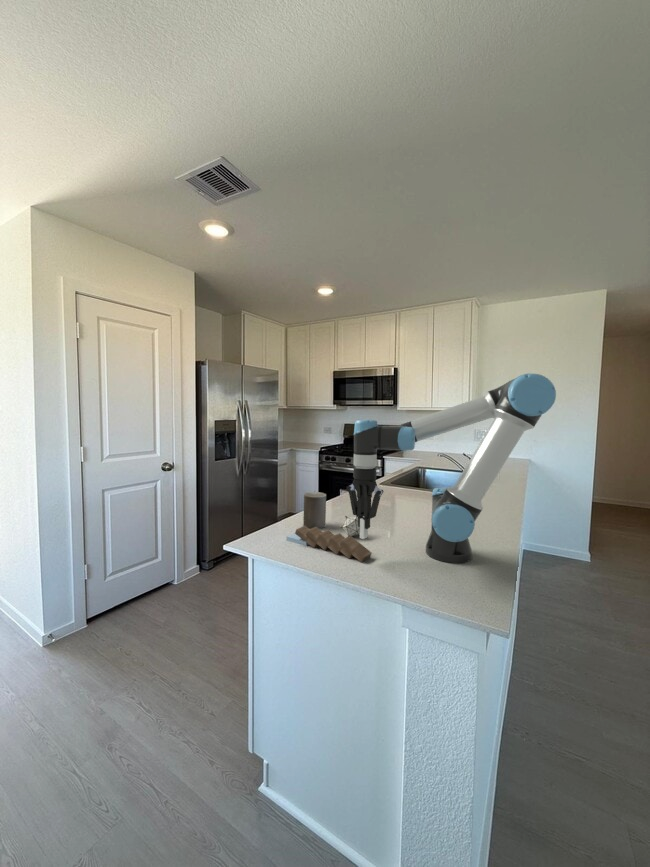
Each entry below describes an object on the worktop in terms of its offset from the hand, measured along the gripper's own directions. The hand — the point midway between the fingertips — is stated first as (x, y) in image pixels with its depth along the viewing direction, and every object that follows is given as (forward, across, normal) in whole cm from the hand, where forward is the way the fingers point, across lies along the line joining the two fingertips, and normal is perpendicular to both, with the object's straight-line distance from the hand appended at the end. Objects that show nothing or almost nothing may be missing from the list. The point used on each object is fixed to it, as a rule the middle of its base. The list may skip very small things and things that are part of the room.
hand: (363, 537), depth 119 cm
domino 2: (+7, +19, 0) cm, 20 cm away
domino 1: (+7, +23, 0) cm, 24 cm away
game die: (+8, +15, -17) cm, 24 cm away
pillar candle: (+8, +35, -18) cm, 40 cm away
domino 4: (+7, +8, 0) cm, 11 cm away
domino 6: (+7, -1, 0) cm, 7 cm away
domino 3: (+6, +14, 0) cm, 15 cm away
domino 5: (+7, +4, 0) cm, 7 cm away
